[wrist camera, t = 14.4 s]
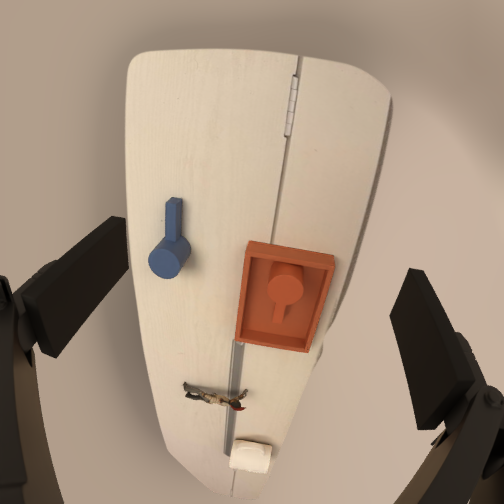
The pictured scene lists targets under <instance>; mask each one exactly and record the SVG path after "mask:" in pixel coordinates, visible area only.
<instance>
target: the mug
mask: <svg viewBox="0 0 504 504" xmlns="http://www.w3.org/2000/svg"><path fill="white" fill-rule="evenodd" d="M271 450H272V446H271V445H265V444H259V443H254V442H249V441H244V440H234V443H233V447H232V452H231V457H230V463H229V468H234V469H240V470H247V471H248V472H255V473H263V474H266V473H267V471H268V467H269V462H270V457H271Z"/></svg>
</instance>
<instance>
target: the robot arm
mask: <svg viewBox="0 0 504 504" xmlns="http://www.w3.org/2000/svg"><path fill="white" fill-rule="evenodd" d="M128 269H129V266H128V253H127V238H126V220H125V218H121V217H115V216H111V217H110V218H108V219H107V220H106V221H105V222H103V223H102V224H101V225H100V226H98V227H97V228H96V229H94V230H93V231H92V232H91V233H90V234H88V235H87V236H86V237H85V238H83V239H82V240H81V241H80V242H78V243H77V244H76V245H75V246H74V247H73V248H71V249H70V250H69V251H68V252H66V253H65V254H64V255H63V256H62V257H61V258H59V259H58V260H54V261H52V262H50V263H48V264H46V265H44V266H43V267H42V268H41V269H40V270H39V271H38V272H37V273H35V274H34V275H33V276H32V278H30V279H28V280H27V281H26V282H25V283H24V284H23V285H22V286H21V287H20V288H19V289H17V291H15V292H14V293H13V294H12V291H11V288H10V285H9V282H8V279H7V278H6V277H5V276H1V275H0V504H64V501H63V498H62V495H61V492H60V489H59V485H58V482H57V478H56V475H55V471H54V467H53V464H52V460H51V455H50V451H49V447H48V442H47V438H46V433H45V428H44V423H43V417H42V412H41V405H40V398H39V391H38V383H37V375H36V366H35V354H34V351H33V348H32V347H33V345H34V344H35V343H36V342H38V345H39V347H40V350H41V352H42V353H44V354H47V355H49V356H51V357H53V358H57V357H58V356H59V354H60V353H61V352H62V350H63V349H64V348H65V346H66V345H67V344H68V343H69V341H70V340H71V338H72V337H73V336H74V335H75V333H76V332H77V331H78V330H79V328H80V327H81V325H83V323H84V322H85V321H86V319H87V318H88V317H89V316H90V314H91V313H92V312H93V311H94V309H95V308H96V307H97V306H98V305H99V303H100V302H101V301H102V300H103V298H104V297H105V296H106V295H107V294H108V292H109V291H110V290H111V289H112V288H113V286H114V285H115V284H116V283H117V282H118V281H119V279H120V278H121V277H122V276H123V275H124V273H125V272H126V271H127V270H128ZM390 319H391V323H392V326H393V330H394V333H395V336H396V340H397V344H398V347H399V351H400V355H401V359H402V363H403V366H404V370H405V374H406V378H407V383H408V387H409V391H410V396H411V400H412V404H413V409H414V414H415V419H416V423H417V429H418V430H435V429H436V428H437V427H438V425H440V424H441V422H442V421H443V420H444V423H445V427H446V429H445V430H444V431H443V432H442V433H441V434H440V435H439V436H438V437H437V438H436V439H435V440H434V441H433V442H432V443H431V445H432V446H433V445H434V446H433V448H432V449H431V451H430V452H429V454H428V456H427V457H426V459H425V460H424V462H423V463H422V465H421V466H420V468H419V470H418V471H417V472H416V474H415V475H414V477H413V478H412V480H411V481H410V482H409V484H408V485H407V487H406V488H405V490H404V491H403V492H402V493H401V495H400V496H399V498H398V499H397V500H396V501H395V503H394V504H467V503H468V501H469V499H470V501H469V504H504V397H503V395H502V393H501V392H500V391H499V390H498V389H496V388H495V387H492V386H489V385H487V384H486V381H485V379H484V376H483V374H482V372H481V369H480V367H479V365H478V362H477V361H476V360H475V356H474V354H473V353H472V349H471V347H470V345H469V343H468V341H467V340H466V339H465V338H464V337H463V335H462V334H461V333H459V332H455V331H454V329H453V327H452V325H451V323H450V321H449V319H448V317H447V314H446V313H445V310H444V308H443V307H442V305H441V303H440V301H439V299H438V297H437V295H436V293H435V291H434V289H433V287H432V285H431V284H430V282H429V280H428V278H427V276H426V274H425V273H424V271H423V270H418V269H412V268H409V270H408V272H407V275H406V277H405V280H404V282H403V285H402V287H401V290H400V292H399V295H398V297H397V299H396V302H395V304H394V306H393V309H392V311H391V313H390Z"/></svg>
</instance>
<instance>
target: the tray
mask: <svg viewBox="0 0 504 504" xmlns="http://www.w3.org/2000/svg"><path fill="white" fill-rule="evenodd" d="M274 261H279V262H285V263H291V264H296V265H302V266H303V268H304V290H303V295H302V297H301V299H300V300H299V301H297V302H296V303H294V304H291V305H286V309H285V313H284V318H283V322H282V324H278V323H272V316H273V310H274V306H275V302H274V301H273V300H271V299H270V297H269V296H268V293H267V284H268V279H269V274H270V269H271V265H272V263H273V262H274ZM334 269H335V262H334V256H333V255H328V254H323V253H317V252H312V251H306V250H300V249H295V248H289V247H284V246H278V245H272V244H267V243H261V242H255V241H249V242H248V245H247V248H246V252H245V259H244V267H243V275H242V283H241V291H240V299H239V307H238V315H237V323H236V332H235V341H240V342H245V343H250V344H256V345H261V346H267V347H273V348H279V349H285V350H291V351H297V352H304V353H308V352H309V349H310V346H311V343H312V340H313V337H314V334H315V331H316V328H317V325H318V322H319V319H320V316H321V312H322V309H323V306H324V303H325V299H326V296H327V293H328V289H329V286H330V283H331V279H332V276H333V272H334Z"/></svg>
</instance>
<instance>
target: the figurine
mask: <svg viewBox="0 0 504 504" xmlns="http://www.w3.org/2000/svg"><path fill="white" fill-rule="evenodd" d="M183 385H184V390H185V391H188V392H187V394H186V396H185V397H187V398H191V399H193V400H204V402H206V403H209V404H213V403H217V404H220V405H222V406H231V407H232V408H233V409H234V410H237V411H242V410H244V409H245V408H244V407H241V403H240V402H239V400H242V399H243V397H245V396H246V395H245V396H243V395H244V394H246V392H248V391H247V390H246V389H245V391H244V392H243V393H242V394H241V395H240V396H238V397H235V398H233V399H231V400H229V399H228V398H227V397H225V396H221V395H217V394H215V395H211V394H208V393H205V392H203V391H201V390H199V389H197V388H191V387H188V386H187V384H186V382H184V384H183ZM190 392H192V393H197V394H198V395H192V394H190Z"/></svg>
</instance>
